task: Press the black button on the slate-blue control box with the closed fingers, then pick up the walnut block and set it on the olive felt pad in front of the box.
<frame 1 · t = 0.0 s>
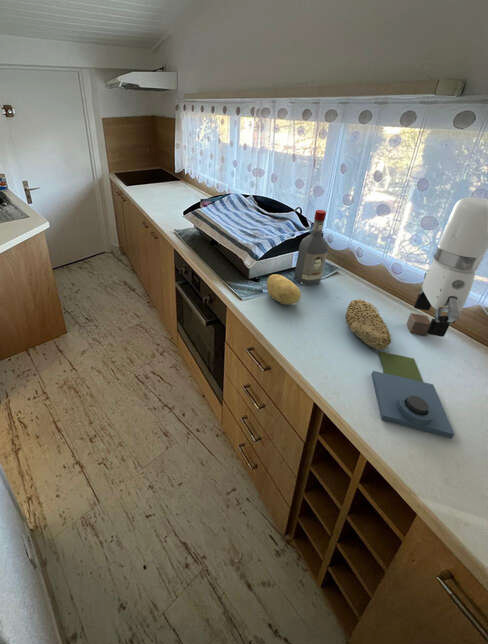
hand: (427, 321, 72), 21 cm above the worktop, tool pointing down, fingers open, 9 cm apart
block: (416, 329, 100), on the worktop
liquor: (306, 280, 128), on the worktop
pad: (399, 367, 87), on the worktop
control box: (407, 403, 76), on the worktop
button: (416, 405, 72), point 4 cm above the worktop, slide at 0.1 cm
potato: (281, 300, 115), on the worktop
sponge: (364, 331, 100), on the worktop
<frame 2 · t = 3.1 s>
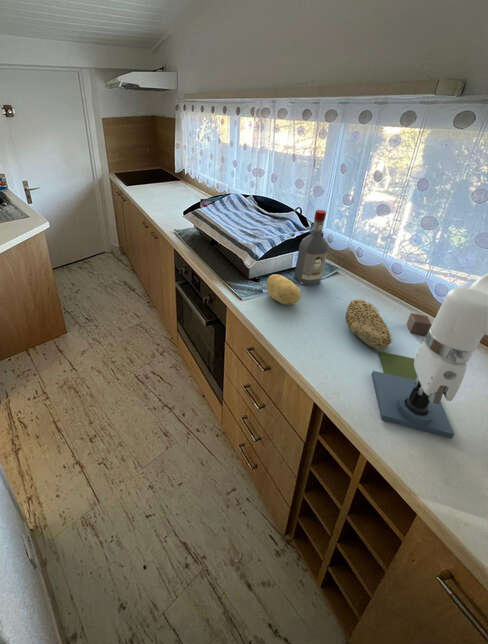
hand: (417, 402, 71), 5 cm above the worktop, tool pointing down, fingers closed
button: (416, 405, 72), point 4 cm above the worktop, slide at -0.1 cm, touching gripper
everything else where it was.
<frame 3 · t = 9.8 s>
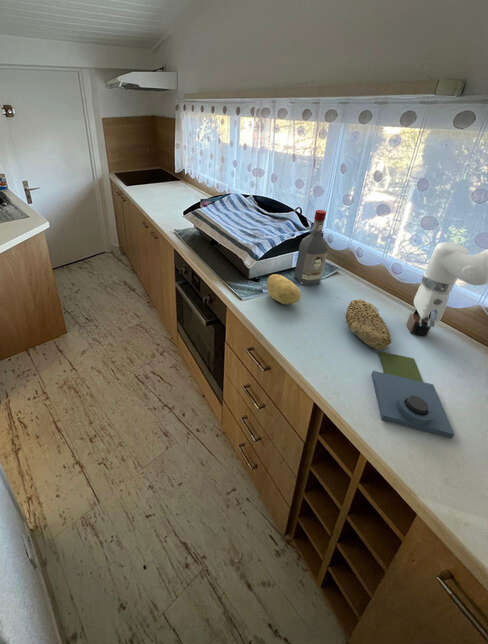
hand: (416, 328, 100), 0 cm above the worktop, tool pointing down, fingers closed on block, 4 cm apart
block: (416, 329, 100), on the worktop, touching gripper
button: (416, 405, 72), point 4 cm above the worktop, slide at 0.1 cm
everything else where it was.
when the fingers open (1 cm above the worktop, at t = 18.0 s): block stays where it is, resting on pad.
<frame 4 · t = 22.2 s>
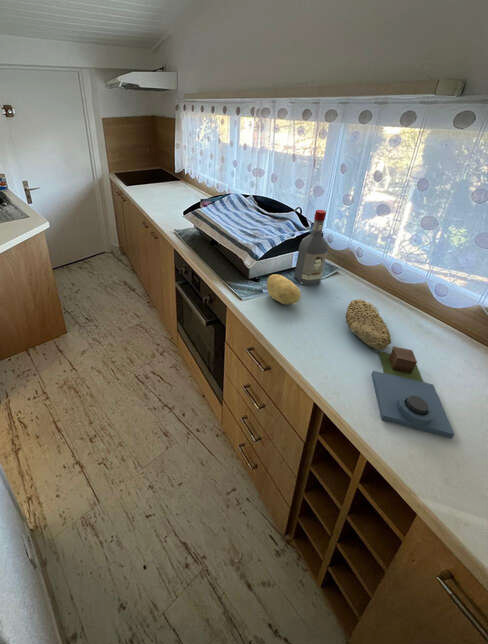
block: (399, 365, 86), resting on pad
everything else where it was.
at the end: button pushed in 1.1 cm at the most during the clip, back to where it started at the end; button slide at 0.1 cm; block inside the target area on the pad (0.1 cm from its centre), point 0.5 cm above the pad's base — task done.
